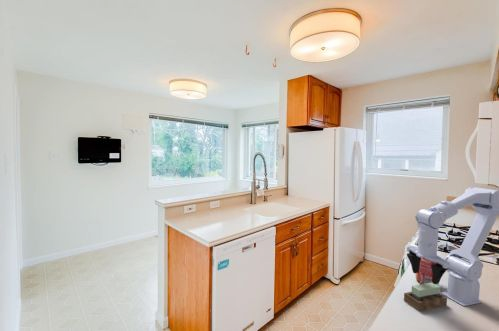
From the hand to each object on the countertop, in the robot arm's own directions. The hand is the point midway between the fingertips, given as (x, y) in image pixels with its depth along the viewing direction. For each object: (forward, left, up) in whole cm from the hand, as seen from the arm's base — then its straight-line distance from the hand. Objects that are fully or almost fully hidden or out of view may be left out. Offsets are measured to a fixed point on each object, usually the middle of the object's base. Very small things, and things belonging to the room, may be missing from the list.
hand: (425, 277), depth 87 cm
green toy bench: (0, +1, -9) cm, 9 cm away
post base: (0, +1, -9) cm, 9 cm away
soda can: (-14, -10, -10) cm, 20 cm away
